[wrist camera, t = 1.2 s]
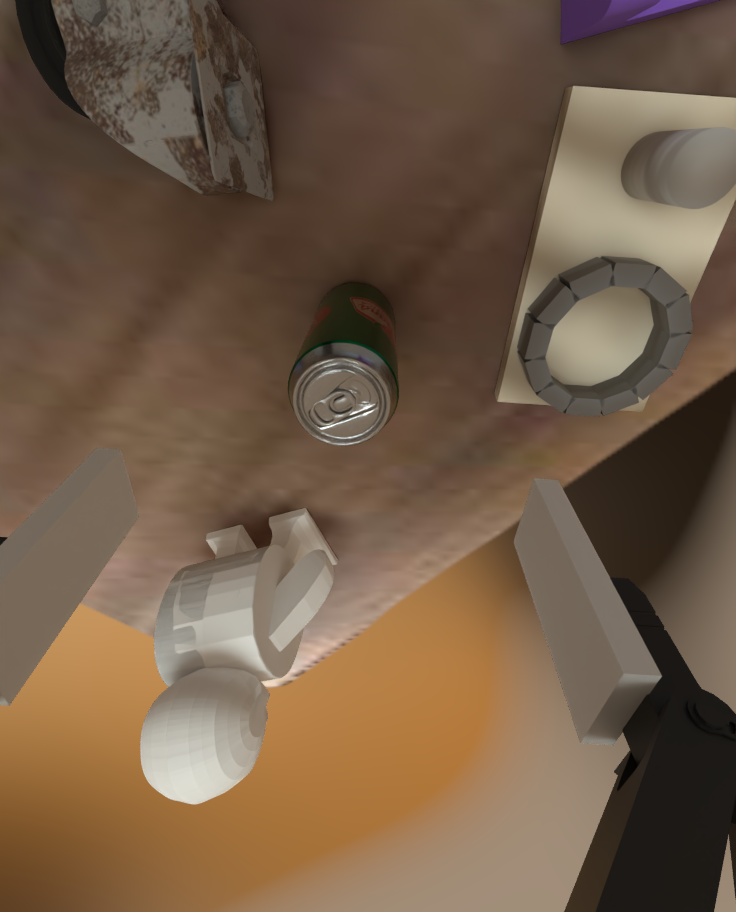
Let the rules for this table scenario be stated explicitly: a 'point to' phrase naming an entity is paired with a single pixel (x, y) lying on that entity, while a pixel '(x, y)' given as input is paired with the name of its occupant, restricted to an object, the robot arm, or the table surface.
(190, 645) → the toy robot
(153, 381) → the table surface
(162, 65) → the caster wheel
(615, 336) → the socket board
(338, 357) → the soda can
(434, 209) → the table surface
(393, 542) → the table surface
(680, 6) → the bracket
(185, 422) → the table surface
